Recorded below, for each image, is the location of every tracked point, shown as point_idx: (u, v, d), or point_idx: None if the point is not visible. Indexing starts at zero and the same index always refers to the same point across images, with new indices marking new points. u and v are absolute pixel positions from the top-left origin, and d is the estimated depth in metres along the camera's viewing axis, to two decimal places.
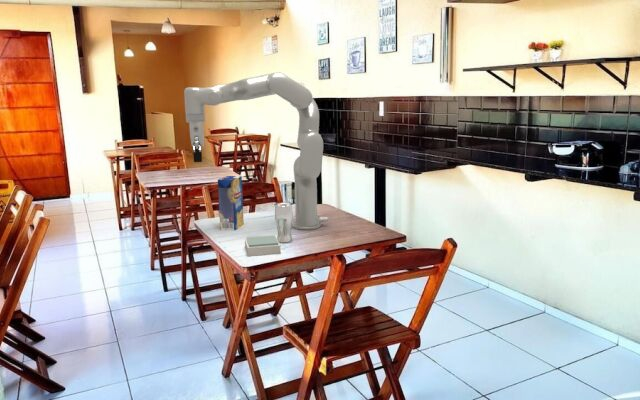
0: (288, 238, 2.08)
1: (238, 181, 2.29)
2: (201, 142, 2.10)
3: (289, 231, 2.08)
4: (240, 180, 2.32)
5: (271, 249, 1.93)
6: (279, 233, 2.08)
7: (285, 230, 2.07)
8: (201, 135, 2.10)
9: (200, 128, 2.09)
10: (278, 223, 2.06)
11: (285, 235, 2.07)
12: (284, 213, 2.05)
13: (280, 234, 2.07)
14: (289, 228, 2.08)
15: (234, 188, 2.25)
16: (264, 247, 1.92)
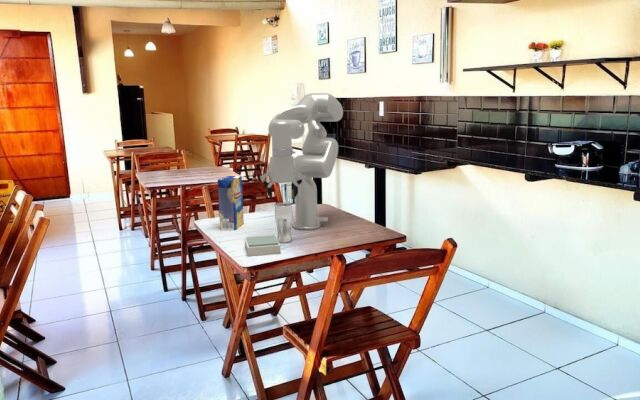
0: (288, 238, 2.08)
1: (238, 181, 2.29)
2: None
3: (289, 231, 2.08)
4: (240, 180, 2.32)
5: (271, 249, 1.93)
6: (279, 233, 2.08)
7: (285, 230, 2.07)
8: None
9: None
10: (278, 223, 2.06)
11: (285, 235, 2.07)
12: (284, 213, 2.05)
13: (280, 234, 2.07)
14: (289, 228, 2.08)
15: (234, 188, 2.25)
16: (264, 247, 1.92)
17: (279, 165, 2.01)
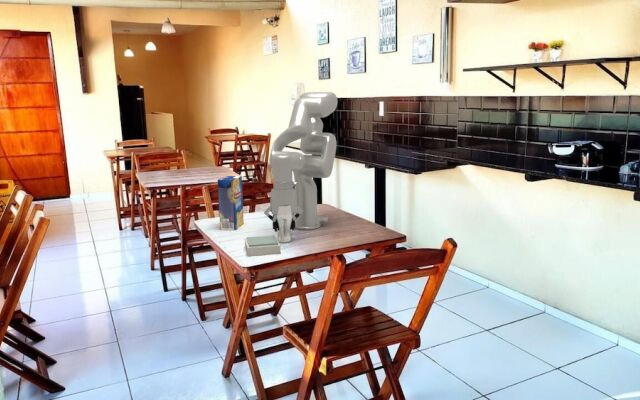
0: (288, 238, 2.08)
1: (238, 181, 2.29)
2: None
3: (289, 231, 2.08)
4: (240, 180, 2.32)
5: (271, 249, 1.93)
6: (279, 233, 2.08)
7: (285, 230, 2.07)
8: None
9: None
10: (278, 223, 2.06)
11: (285, 235, 2.07)
12: (284, 213, 2.05)
13: (280, 234, 2.07)
14: (289, 228, 2.08)
15: (234, 188, 2.25)
16: (264, 247, 1.92)
17: (280, 198, 2.04)
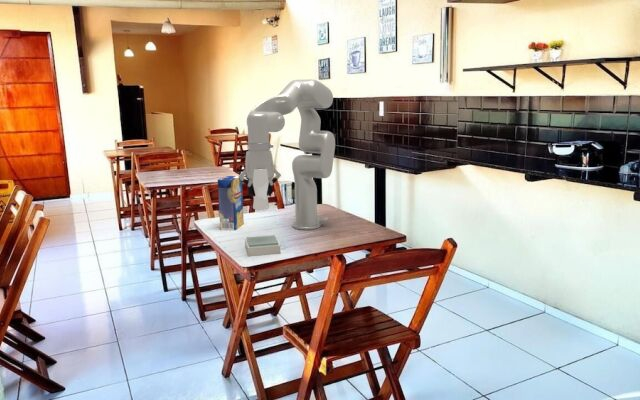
0: (265, 204, 1.93)
1: (238, 181, 2.29)
2: None
3: (266, 197, 1.93)
4: (240, 180, 2.32)
5: (271, 249, 1.93)
6: (255, 199, 1.93)
7: (261, 195, 1.92)
8: None
9: None
10: (254, 188, 1.91)
11: (261, 201, 1.92)
12: (260, 177, 1.90)
13: (256, 200, 1.92)
14: (266, 193, 1.92)
15: (234, 188, 2.25)
16: (264, 247, 1.92)
17: (256, 160, 1.89)
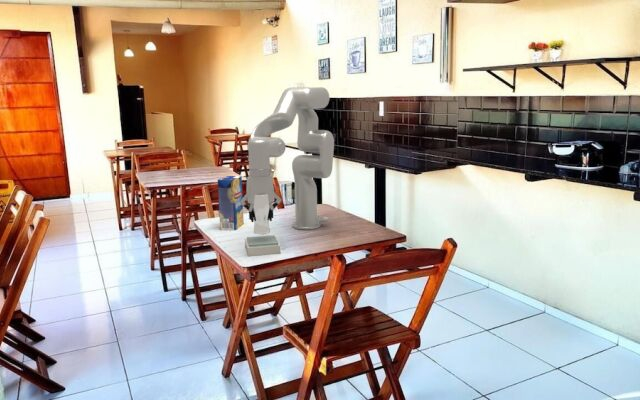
0: (265, 229, 1.95)
1: (238, 181, 2.29)
2: None
3: (266, 221, 1.95)
4: (240, 180, 2.32)
5: (271, 249, 1.93)
6: (256, 223, 1.94)
7: (262, 220, 1.93)
8: None
9: None
10: (255, 213, 1.93)
11: (262, 226, 1.94)
12: (261, 202, 1.91)
13: (257, 224, 1.94)
14: (266, 218, 1.94)
15: (234, 188, 2.25)
16: (264, 247, 1.92)
17: (257, 186, 1.91)
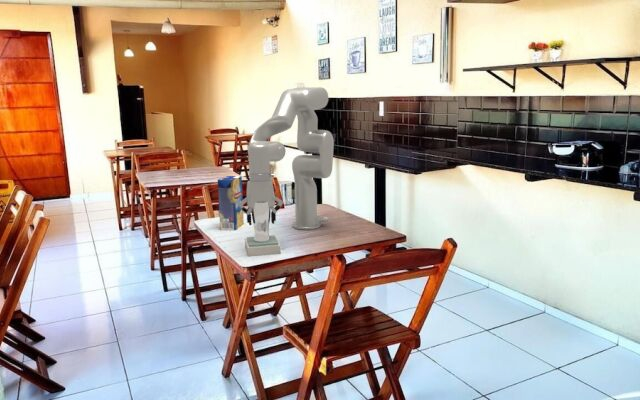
0: (265, 237, 1.95)
1: (238, 181, 2.29)
2: None
3: (266, 229, 1.95)
4: (240, 180, 2.32)
5: (271, 249, 1.93)
6: (256, 231, 1.95)
7: (262, 228, 1.94)
8: None
9: None
10: (255, 221, 1.94)
11: (262, 234, 1.95)
12: (261, 210, 1.92)
13: (257, 232, 1.95)
14: (266, 226, 1.95)
15: (234, 188, 2.25)
16: (264, 247, 1.92)
17: (257, 190, 1.91)
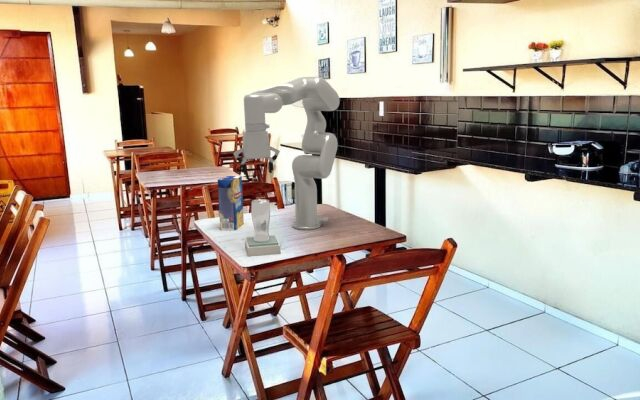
0: (265, 237, 1.95)
1: (238, 181, 2.29)
2: None
3: (266, 229, 1.96)
4: (240, 180, 2.32)
5: (271, 249, 1.93)
6: (256, 231, 1.95)
7: (262, 228, 1.94)
8: None
9: None
10: (254, 221, 1.94)
11: (262, 234, 1.95)
12: (261, 210, 1.92)
13: (257, 232, 1.95)
14: (266, 226, 1.95)
15: (234, 188, 2.25)
16: (264, 247, 1.92)
17: (253, 140, 1.94)
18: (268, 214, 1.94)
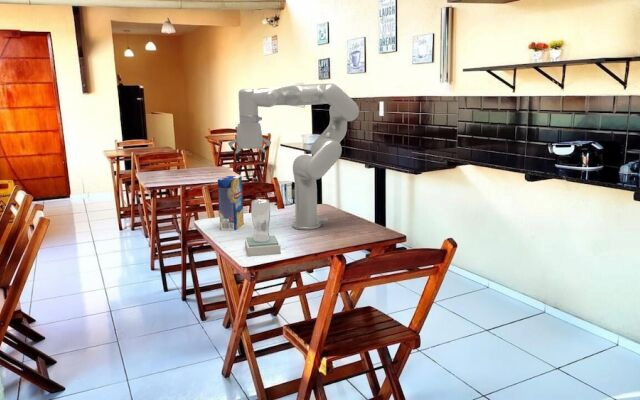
0: (265, 237, 1.95)
1: (238, 181, 2.29)
2: None
3: (266, 229, 1.95)
4: (240, 180, 2.32)
5: (271, 249, 1.93)
6: (256, 231, 1.95)
7: (262, 228, 1.94)
8: None
9: None
10: (254, 221, 1.94)
11: (262, 234, 1.95)
12: (261, 210, 1.92)
13: (257, 233, 1.95)
14: (266, 226, 1.95)
15: (234, 188, 2.25)
16: (264, 247, 1.92)
17: (246, 131, 2.10)
18: (268, 214, 1.94)
